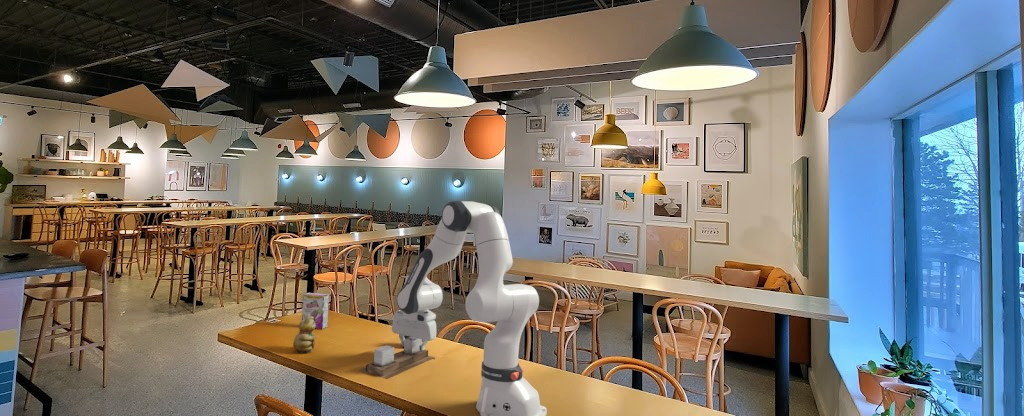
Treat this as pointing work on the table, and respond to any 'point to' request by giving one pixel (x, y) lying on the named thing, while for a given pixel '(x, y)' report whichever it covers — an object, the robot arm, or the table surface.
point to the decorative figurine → (305, 335)
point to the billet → (412, 346)
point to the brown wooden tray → (398, 364)
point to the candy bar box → (316, 308)
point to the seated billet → (383, 356)
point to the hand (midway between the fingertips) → (412, 347)
